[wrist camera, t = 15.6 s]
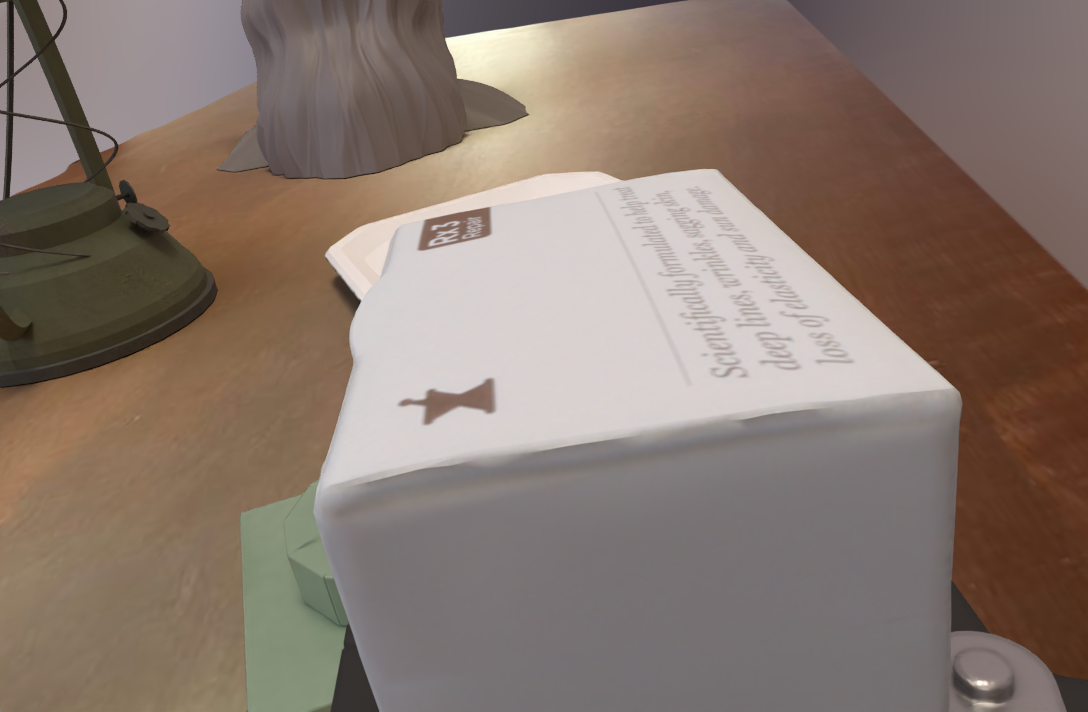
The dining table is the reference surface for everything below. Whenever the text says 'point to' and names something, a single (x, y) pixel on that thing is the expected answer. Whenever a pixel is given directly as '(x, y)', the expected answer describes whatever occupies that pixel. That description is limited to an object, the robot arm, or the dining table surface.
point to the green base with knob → (289, 609)
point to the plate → (369, 243)
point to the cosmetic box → (637, 468)
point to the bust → (356, 88)
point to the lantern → (83, 250)
